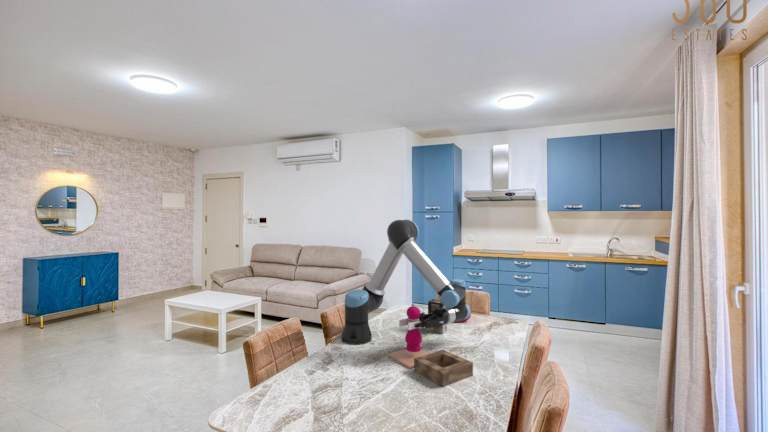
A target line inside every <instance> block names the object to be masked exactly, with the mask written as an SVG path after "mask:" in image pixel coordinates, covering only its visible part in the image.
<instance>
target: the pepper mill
mask: <svg viewBox="0 0 768 432" xmlns="http://www.w3.org/2000/svg"><path fill="white" fill-rule="evenodd" d="M420 313H421V309H420V308H419V307H417V306H416V303H414V302H413V303H412V302H411V306H409V307H408V308H407V309H406V316H407V318H408V317H409V318H408V322H409V323H411V322H416V321H419V316H420ZM419 329H420V328H416V329H412V330H408V329H407V332H406V334H405V336H404V337H405V339H404V341H405V343H406V346H405V349H407V351H410V352H419V351H420V350H421V349H422V346H421V343H422V342H423V337H422V334H421V331H420V330H419Z"/></svg>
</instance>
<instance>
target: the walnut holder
mask: <svg viewBox="0 0 768 432" xmlns="http://www.w3.org/2000/svg"><path fill="white" fill-rule="evenodd" d="M429 353H430V354H427V355H424V356H420V357H417V358H414V368H413V371H414V372H415V373H417V374H419V375H420V376H422V377H424V378H426V379H428V380H430V381H432V382H433V383H435V384H436V385H439V386H441V387H442V388H445V387H447V386H449V385H452V384H454V383H457V382H460V381H462V380H465V379H468V378H470V377H472V376H474V374H473V373H474V362H473V361H470V360H468V359H466V358H464V357H461V356H459V355H456V354H455V353H452V352H449V351H447V350H445V349H441V350H438V351H434V352H429Z"/></svg>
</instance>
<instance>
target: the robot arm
mask: <svg viewBox="0 0 768 432" xmlns="http://www.w3.org/2000/svg"><path fill="white" fill-rule="evenodd" d="M419 232H420V230H419V227H418V225H417V224H416V223H415V222H414V221H412V220H410V219H395V220H393V221H391V222H390V223H389V225H388V226H387V231H386V234H387V238H388V239H387V240H388V242H389V243H388V246H387V247H386V249H385V251H384V253H383V255H382V257H381V259H380V261H379V263H378V265H377V267H376V268H375V270H374V273H373V274H372V276H371V278H370V279H369V281H367V282H365V284H364V285H363V288H362V289H355V290H351V291H348V292H346V294H345V296H344V326H343V327H342V328H343V329H342V331H341V335H340V336H341V337H340V338H341V340H340V341H341V342H343V343H345V344H348V345H363V344H366V343H367V344H368V343H369V342H371V341H372V339H373V338H372V337H373V334H372V330H371V328H370V325H369V313H371V312H374V311H375V310H377V309H379V307H381V305H382V304H383V302H384V296H385V295H386V291H385V288H386V286H387V284H388V282H389V281H390V279H391V276H392V275H393V273H394V271H395V269H396V267H397V265H398V263H399V261H400V259H401V258H402V256H403V255H404V256H405V258H406V259H407V260H408V261H409V262H410V263H411V265H413V267H414V268H415V270H417V272H418V273H419V274H420V275H421V276H422V277H423V278H424V280H426V282H427V283H428V284H429V286H430V287H431V288H432V289H433V290H434V291H435V293H436V294H437V295H438V296H439V298H440V300H441V302H442V304H443V305H444V306H445V307H442V308H438V309H435V310H434V311H433V312H432V313H429V314H428V313H425V312H420V316H419V321H416V322H411V323H409V322H408V318H409V317H408V316H407V318H402V319H399V320H398V325H399V327H400V328H402V327H405V326H407V331H408V330H412V329H416V328H419V329H420V328H425V329H428V328H431V327H434V326H441V325H445V324H447V325H449V324H451V323H456V322H458V321H462V320H465V319H467V318H469V316H470V314H471V315H472V311H471V308H470V305H468V304H467V303H466V302H467V300H466V298H467V297H466V296H467V295H466V294H467V292H466V291H467V286H466V281H465V280H463V279H460V278H459V279H456V278H453V279H451V280H450V281H449V280H448V279H447V277H446V276H445V275H444V274H443V273H442V272H441V270H440V269H439V268H438V267H437V266H436V265H435V264H434V262H433V261H432V260H431V258H430V257H428V256H427V255H426V253H425V252H424V251H423V250H422V248H421V247H420V246H419V245H418V244H417V243H416V242H415V241H416V240H417V238H418V237H419V234H420V233H419ZM470 317H471V316H470ZM469 319H470V318H469ZM428 325H429V326H428Z"/></svg>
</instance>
